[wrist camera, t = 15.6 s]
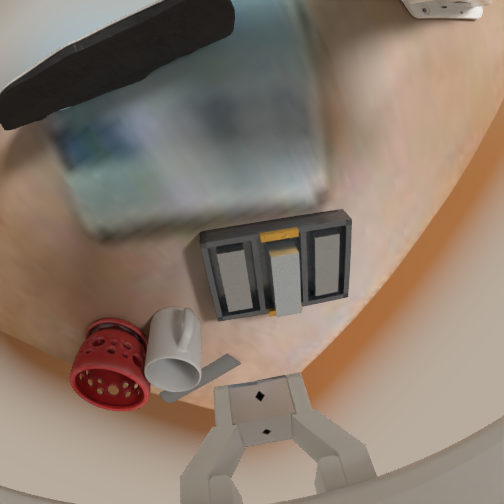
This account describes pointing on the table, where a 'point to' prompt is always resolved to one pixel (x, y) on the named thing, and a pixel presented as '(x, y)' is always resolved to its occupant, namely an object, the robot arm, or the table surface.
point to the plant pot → (112, 365)
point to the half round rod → (205, 376)
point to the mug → (174, 350)
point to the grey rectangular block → (283, 276)
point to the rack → (255, 269)
